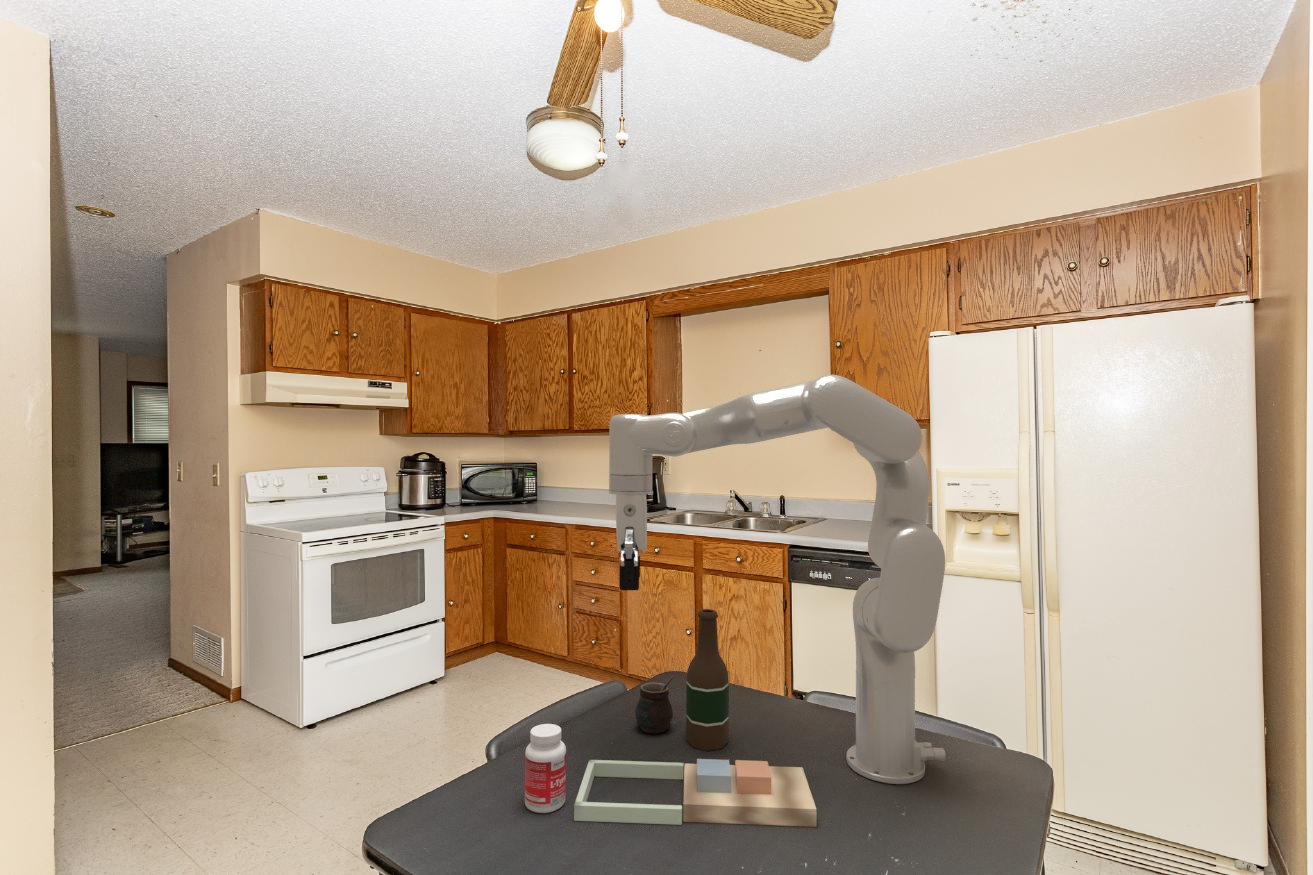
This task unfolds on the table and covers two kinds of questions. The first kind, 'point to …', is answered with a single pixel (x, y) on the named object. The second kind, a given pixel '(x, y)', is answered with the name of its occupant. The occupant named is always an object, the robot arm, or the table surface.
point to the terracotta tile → (752, 777)
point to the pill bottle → (545, 769)
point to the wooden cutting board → (752, 801)
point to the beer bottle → (707, 689)
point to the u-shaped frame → (625, 810)
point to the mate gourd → (654, 707)
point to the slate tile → (713, 776)
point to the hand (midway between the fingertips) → (630, 583)
